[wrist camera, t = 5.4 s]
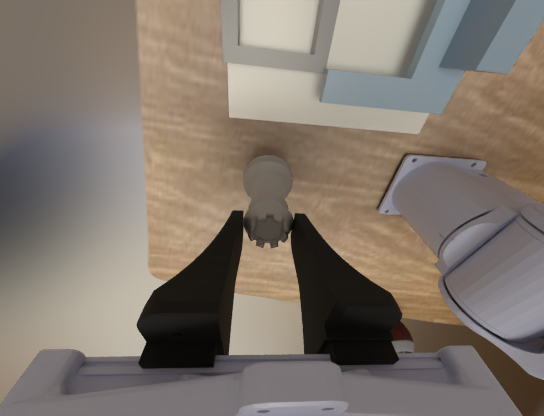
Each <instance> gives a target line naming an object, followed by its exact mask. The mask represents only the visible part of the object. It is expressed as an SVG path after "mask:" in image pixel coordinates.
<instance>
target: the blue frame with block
mask: <svg viewBox="0 0 544 416" xmlns="http://www.w3.org/2000/svg"><path fill="white" fill-rule="evenodd" d="M543 20H544V0H437V2H436V4H435V6H434V9H433V11H432V14H431V16H430V19H429V21H428V23H427V26H426V28H425V31H424V33H423V36H422V38H421V40H420V43H419V45H418V48H417V50H416V53H415V55H414V58H413V60H412V62H411V65H410V67H409V70H408V72H407V75H406V77H405V78H403V77H394V76H385V75H376V74H368V73H359V72H350V71H341V70H332V69H326V70H325V75H324V79H323V84H322V89H321V94H320V99H319V101H320V102H321V103H330V104H340V105H350V106H360V107H370V108H380V109H391V110H401V111H411V112H421V113H431V114H442V112H443V110H444V109H445V107H446V105H447V103H448V101H449V100H450V98H451V96H452V94H453V92H454V91H455V89H456V87H457V85H458V83H459V81H460V80H461V78H462V76H463V74H464V72H465V71H477V72H489V73H501V74H508V73H509V72H510V70H511V69H512V67H513V66H514V64H515V62H516V61H517V59H518V58H519V56H520V55H521V53H522V52H523V50H524V49H525V47H526V46H527V44H528V43H529V41H530V40H531V38H532V37H533V35H534V34H535V32H536V31H537V29H538V28H539V26H540V25H541V23H542V22H543Z"/></svg>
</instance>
